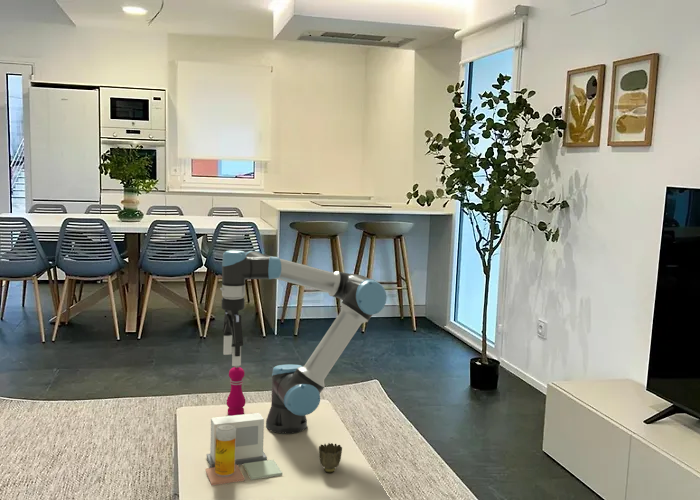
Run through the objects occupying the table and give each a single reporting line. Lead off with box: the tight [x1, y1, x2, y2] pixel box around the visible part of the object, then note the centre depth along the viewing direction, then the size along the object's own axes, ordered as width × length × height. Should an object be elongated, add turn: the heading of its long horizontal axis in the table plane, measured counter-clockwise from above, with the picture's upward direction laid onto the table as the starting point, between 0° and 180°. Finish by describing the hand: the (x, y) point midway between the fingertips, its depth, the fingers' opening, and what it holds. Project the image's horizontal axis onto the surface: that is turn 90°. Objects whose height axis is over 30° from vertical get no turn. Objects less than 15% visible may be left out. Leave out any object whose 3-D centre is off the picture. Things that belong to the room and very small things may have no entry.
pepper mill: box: [226, 366, 246, 416], centre depth 254 cm, size 7×7×20 cm
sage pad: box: [242, 459, 283, 481], centre depth 207 cm, size 10×10×1 cm
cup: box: [318, 442, 343, 474], centre depth 208 cm, size 8×7×8 cm
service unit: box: [206, 412, 268, 468], centre depth 213 cm, size 18×8×14 cm, turn 113°
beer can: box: [215, 423, 236, 477], centre depth 202 cm, size 6×6×15 cm
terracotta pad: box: [204, 464, 245, 486], centre depth 203 cm, size 10×10×1 cm
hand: (231, 359), depth 220 cm, fingers open, 13 cm apart
